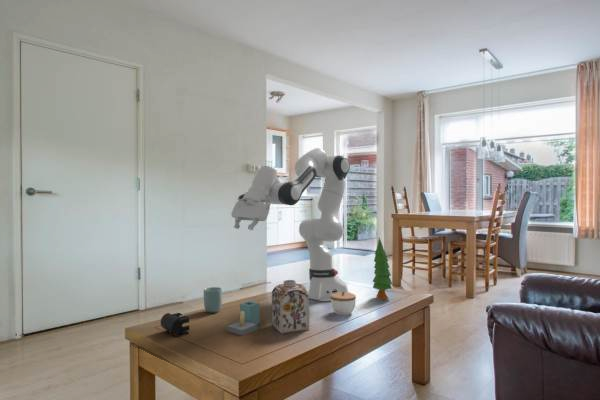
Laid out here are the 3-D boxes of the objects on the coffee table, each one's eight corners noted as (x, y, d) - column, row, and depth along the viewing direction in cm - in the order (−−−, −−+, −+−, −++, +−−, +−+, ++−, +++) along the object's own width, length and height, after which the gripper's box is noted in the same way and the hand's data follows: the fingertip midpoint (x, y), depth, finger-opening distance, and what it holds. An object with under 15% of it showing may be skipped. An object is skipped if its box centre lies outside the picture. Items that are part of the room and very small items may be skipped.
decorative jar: (271, 324, 157) (270, 279, 157) (299, 321, 161) (298, 276, 161) (280, 334, 146) (280, 285, 145) (310, 330, 150) (309, 282, 150)
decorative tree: (369, 296, 198) (368, 236, 198) (385, 294, 202) (384, 235, 201) (380, 301, 189) (380, 238, 189) (397, 299, 193) (396, 237, 192)
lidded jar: (353, 318, 164) (352, 295, 164) (328, 315, 167) (327, 293, 167) (358, 310, 174) (357, 289, 174) (334, 309, 177) (333, 288, 177)
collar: (249, 320, 162) (249, 301, 162) (259, 322, 159) (259, 303, 159) (240, 324, 158) (239, 304, 158) (249, 326, 155) (249, 306, 155)
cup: (217, 314, 171) (217, 291, 171) (200, 313, 173) (200, 290, 173) (224, 309, 179) (224, 287, 179) (208, 308, 181) (208, 286, 180)
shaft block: (242, 325, 156) (242, 307, 156) (257, 329, 151) (257, 311, 151) (227, 331, 150) (227, 312, 150) (242, 335, 145) (242, 316, 145)
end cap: (160, 332, 150) (160, 314, 150) (178, 327, 155) (177, 310, 155) (171, 339, 143) (171, 320, 143) (190, 334, 147) (189, 315, 147)
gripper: (276, 203, 164) (264, 233, 159) (246, 203, 178) (233, 230, 174) (266, 196, 160) (253, 226, 155) (236, 196, 174) (223, 224, 170)
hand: (242, 228), depth 165 cm, fingers open, 8 cm apart
